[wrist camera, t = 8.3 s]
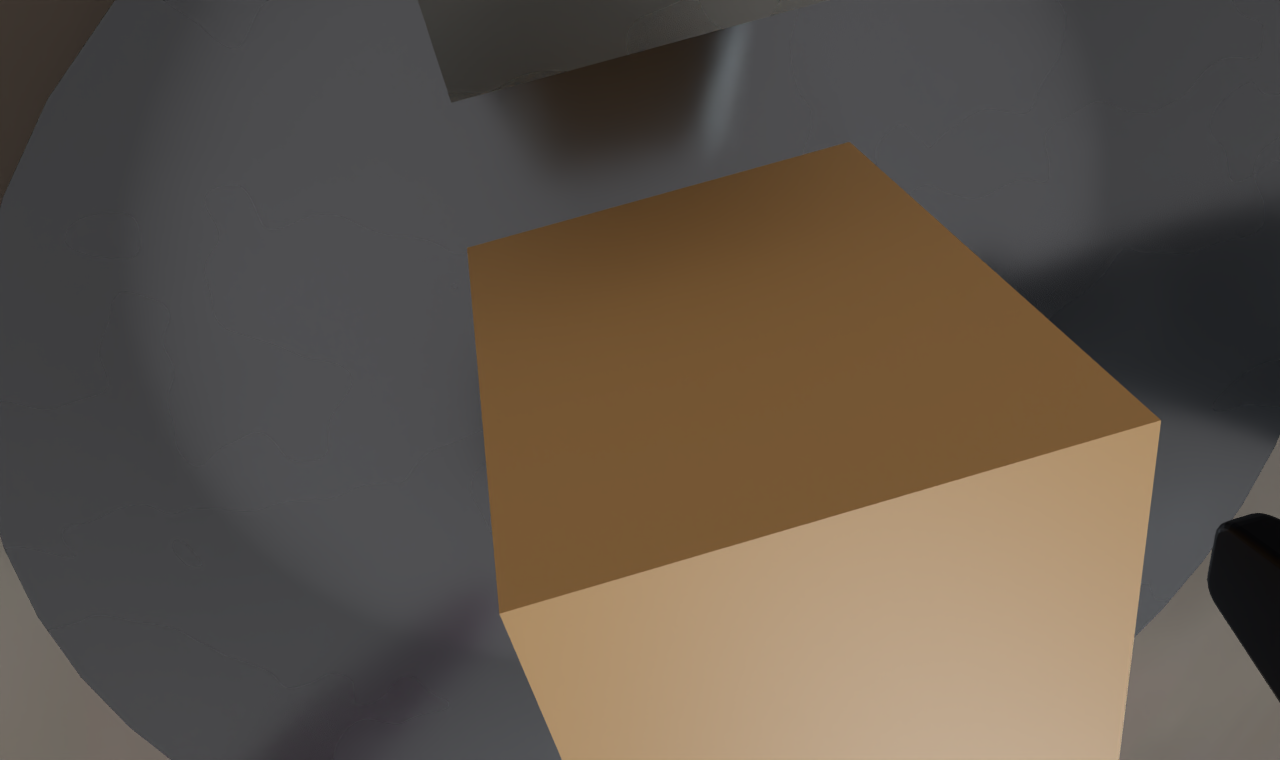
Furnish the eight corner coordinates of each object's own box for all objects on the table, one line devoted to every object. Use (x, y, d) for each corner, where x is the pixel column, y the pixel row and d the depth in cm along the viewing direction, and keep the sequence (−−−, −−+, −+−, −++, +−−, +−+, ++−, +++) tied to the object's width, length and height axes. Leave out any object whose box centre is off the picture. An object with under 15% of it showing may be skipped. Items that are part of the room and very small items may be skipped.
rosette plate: (1385, -487, 9) (1802, -595, 6) (1188, 650, 18) (1323, 806, 15) (-382, -34, 8) (-769, 64, 5) (340, 909, 17) (325, 1119, 14)
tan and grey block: (849, 142, 10) (1161, 419, 6) (898, 693, 15) (1082, 1055, 11) (467, 247, 10) (500, 612, 5) (647, 769, 15) (735, 1164, 11)
